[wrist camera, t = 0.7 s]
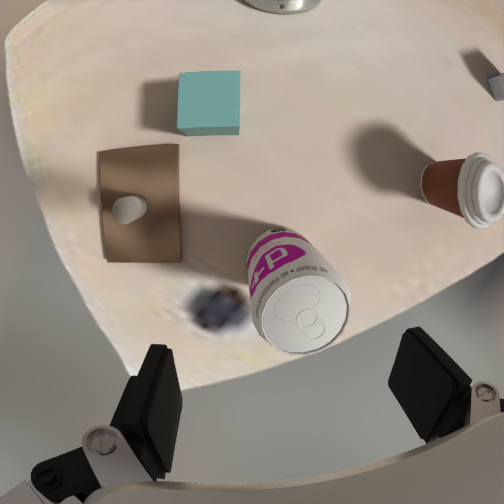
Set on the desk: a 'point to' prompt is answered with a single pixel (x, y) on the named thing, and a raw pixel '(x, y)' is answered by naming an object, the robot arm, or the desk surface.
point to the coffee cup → (466, 188)
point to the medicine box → (497, 86)
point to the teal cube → (209, 103)
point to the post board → (159, 194)
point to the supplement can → (295, 293)
